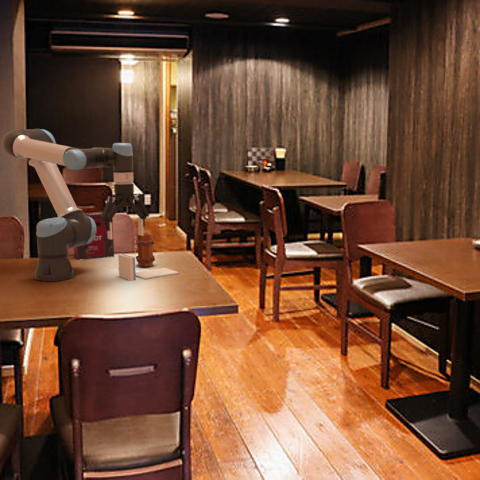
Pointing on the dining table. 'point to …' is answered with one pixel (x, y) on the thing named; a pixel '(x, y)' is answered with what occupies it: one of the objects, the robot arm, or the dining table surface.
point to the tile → (127, 267)
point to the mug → (145, 250)
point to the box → (96, 241)
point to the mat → (155, 273)
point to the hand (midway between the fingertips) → (125, 237)
